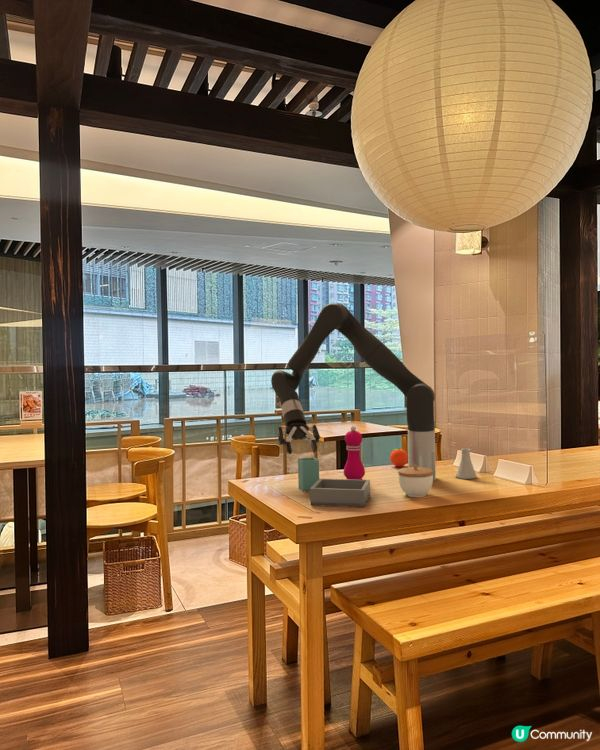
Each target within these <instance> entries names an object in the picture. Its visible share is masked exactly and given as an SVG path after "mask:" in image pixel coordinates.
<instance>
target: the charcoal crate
mask: <svg viewBox="0 0 600 750" xmlns="http://www.w3.org/2000/svg"><path fill="white" fill-rule="evenodd" d="M309 493H310V497H309V498H310V502H309V503H310V506H316V505H324V506H323V507H326V506H327V507H342V506H348V507H349V508H350V507H351V508H365V507H366V505H367V502H368V501H369V499H370V497H371V480H370V479H363V480H356V479H347V478H346V479H344V478H319V480H318V481H317V482H316V483H315V484H314V485H313V486H312V487H311V488H310V491H309Z"/></svg>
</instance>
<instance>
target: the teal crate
mask: <svg viewBox="0 0 600 750" xmlns="http://www.w3.org/2000/svg"><path fill="white" fill-rule="evenodd" d="M297 474H298V475H297V476H298V480H297V481H298V483H297V484H298V485H297V486H298V489H299V490H300V491H301V490H302V491H301V492H302V493H305V492H304V491H309V492H310V488H311V487H312V486H313V485H314V484H315V483H316V482H317V481H318V480H319V479H320V460H319V459H318V458H316V457H301V458H297Z"/></svg>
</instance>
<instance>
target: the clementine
mask: <svg viewBox="0 0 600 750" xmlns="http://www.w3.org/2000/svg"><path fill="white" fill-rule="evenodd" d="M389 453H390V452H388V453H387V455H389ZM389 459H390V462H391V464H392V465H393V466H395V467H398V468H403V467H404V466H405V465H407V463H408V452H406V451H405V450H404V449H401V448H392V451H391V453H390V456H389Z"/></svg>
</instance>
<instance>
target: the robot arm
mask: <svg viewBox="0 0 600 750" xmlns="http://www.w3.org/2000/svg"><path fill="white" fill-rule="evenodd" d="M335 330H336V331H338V332H339V333H340V334H341V335H342V336H344V337H345V338H346V339H347V340H348V341H349V342H350V344H351V345H352V347H354V349H355V351H356V353H357V354H358V355H359V357H360V359H362V361H363V362H364V363H365V364H367V365H368V366H369V368H371V370H373V371H374V372H375V373H376V374H378V375H380V377H382V378H383V379H385V380H387V381H388V382H390V383H391V384H392V385H394V386H395V387H396V388H397V389H398V390H399V391H400V392H401V393H402V394H403V395H404V397H406V400H405V402H406V404H405V405H406V423H407V455H408V461H407V463H408V465H407V466H408V467H414V465H417V467H423V468H429V469H432V470H433V482H435V481H436V479H437V478H436V477H437V475H436V474H437V473H436V472H437V471H436V468H437V466H436V435H435V434H436V427H435V426H436V424H435V423H436V422H435V406H434V404H435V397H436V396H435V395H436V394H435V392H434V390H433V388H432V387H431V386H430V385H428V384H427V383H425V382H424V381H423V380H422V379H420V378H419V377H418V376H416V375H415V374H414V373H413V372H411V371H410V370H409V369H408V368H407V367H406V365H405V364H404V363H403V362H402V361H401V360H400V358H398V356H396V354H395V353H394V352H393V351H392V350H391V349H390V348H389V347H388V346H386V345H385V343H384V342H382V341H381V340H380V339H379V338H377V336H375V335H374V334H373V333H372V332H371V331H370V330H368V329H367V328H365V327H364V325H363V324H361V323H360V321H359V320H358V319H357V318H356V317H355V316H354V315H353V314H352V311H350V310H349V309H348V308H347V307H346V306H345V305H344V304H342V303H338V302H336V303H335V302H334V303H328V304H326V305H324V306H323V308H322V309H321V310H320V312H319V314H318V317H317V318H316V320H315V321H314V324H313V326H312V327H311V329H310V331H309V333H308V334H307V336H305V338H304V339H303V341H302V342H301V344H300V345H299V347H298V348H297V349H296V350H295V352H294V354H292V356H291V357H290V359H289V360H288V361H287V362H288V363H287V365H288V368H289V369H290V370H291V371H292V372H291V373H290V372H287V371H284V370H280V369H278V370H275V371H273V373H272V376H271V378H270V379H271V380H270V381H271V386H272V389H273V391H274V393H275V394H276V396H277V398H278V400H279V402H280V406H281V413H282V418H283V423H284V425H285V428H283V427H281V426H279V427H278V430H277V437H278V444H279V445H281V446H282V445H283V446H285V450H286V453H287V454H289V455H291V454H292V452H293V449H292V445H291V442H292V440H294V441H295V440H305V441H306V442H308V443H310V446H311V447H310V448H311V451H312V453H313V454H314V453H316V452H317V449H318V445H317V443H319V442H320V438H321V436H320V433H319V431H318V427H317V425H316V424H313V425H312V426H309V425H308V424H307V420H306V418H305V417H306V416H305V414H304V409H303V406H302V404H301V401H300V397H299V395H298V392H297V389H298V388H299V386H300V383H301V381H302V378H303V376H304V373H305V372H306V370H307V369H308V367H309V366H310V365H311V363H313V361H314V359H315V358H316V357H317V354H318V352H319V350H320V348H321V346H322V345H323V343H324V342H325V340H326V339H328V337H329V335H331V334H332V332H334V331H335ZM284 434H286V435H288V436H287V437H286V438H285V439H284Z"/></svg>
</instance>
